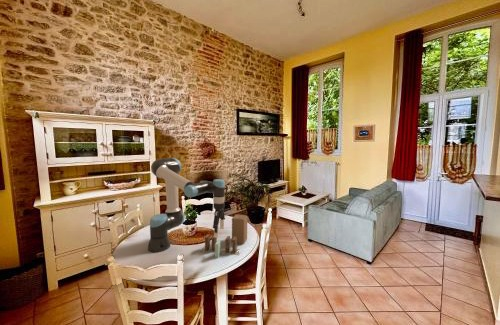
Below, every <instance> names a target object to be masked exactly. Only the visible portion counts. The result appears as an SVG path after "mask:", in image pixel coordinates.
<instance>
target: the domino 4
mask: <svg viewBox="0 0 500 325" xmlns="http://www.w3.org/2000/svg"><path fill="white" fill-rule="evenodd" d="M231 243H232V246H231V247H232V248H231V249H232V254H235V253H236V251H237V249H238V244H237V237H234V238H233V240H232V239H231Z"/></svg>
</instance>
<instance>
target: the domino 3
mask: <svg viewBox="0 0 500 325" xmlns="http://www.w3.org/2000/svg"><path fill="white" fill-rule="evenodd" d="M224 248H225V253H229V251H230V248H231V236H230V235H227V236H226V238H225V246H224Z"/></svg>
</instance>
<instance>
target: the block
mask: <svg viewBox="0 0 500 325" xmlns="http://www.w3.org/2000/svg"><path fill="white" fill-rule="evenodd" d="M234 237H237V245H244V244H245V243H246V242H247V240H248V215H245V214H238V213H237V214H235V215H234V216H233V217H232V218H231V241H232V240H233V238H234Z"/></svg>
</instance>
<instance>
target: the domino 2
mask: <svg viewBox="0 0 500 325" xmlns="http://www.w3.org/2000/svg"><path fill="white" fill-rule="evenodd" d="M217 241H218V238H217V237H214V235H213V236H212V237H211V247H212V252H215V243H216V242H217Z"/></svg>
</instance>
